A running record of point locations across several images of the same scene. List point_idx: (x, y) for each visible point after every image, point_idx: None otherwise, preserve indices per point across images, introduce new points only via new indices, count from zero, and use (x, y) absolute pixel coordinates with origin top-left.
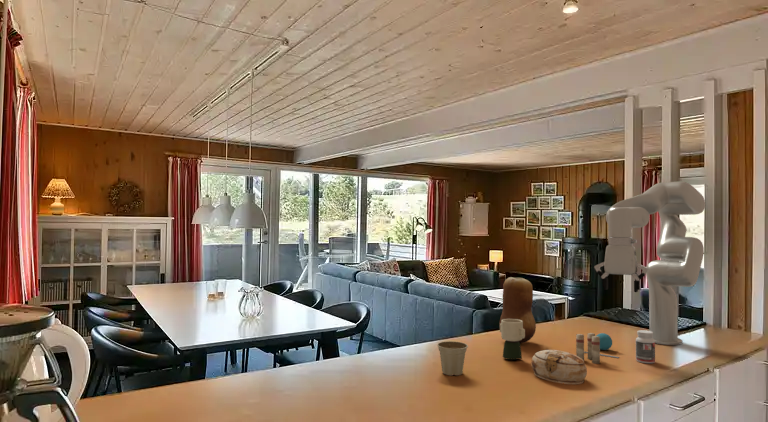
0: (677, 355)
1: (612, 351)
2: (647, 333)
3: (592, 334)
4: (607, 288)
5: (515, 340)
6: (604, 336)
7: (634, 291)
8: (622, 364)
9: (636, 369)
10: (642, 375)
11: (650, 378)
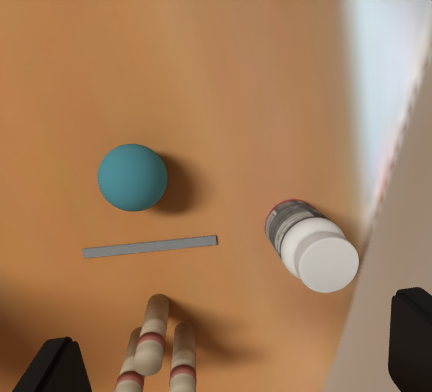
0: (360, 64)
1: (171, 169)
2: (341, 288)
3: (156, 371)
4: (82, 383)
5: None
6: (141, 201)
7: (394, 377)
8: (245, 296)
9: (286, 315)
10: (309, 352)
11: (328, 361)
